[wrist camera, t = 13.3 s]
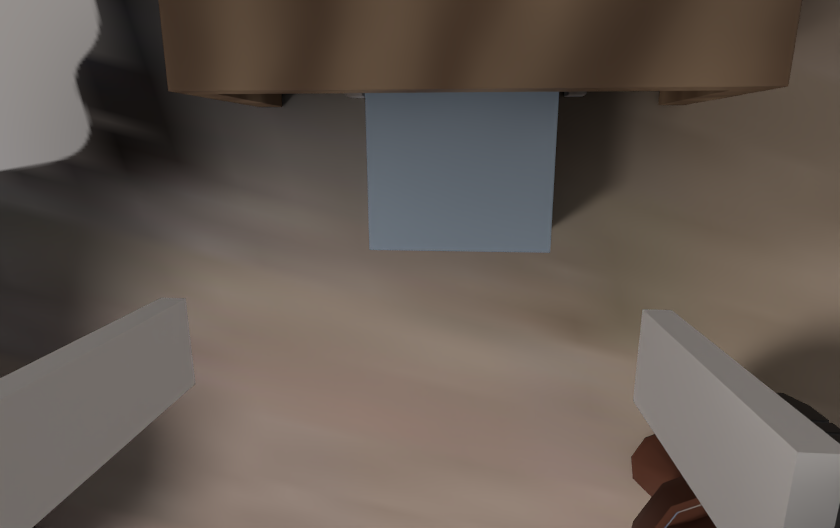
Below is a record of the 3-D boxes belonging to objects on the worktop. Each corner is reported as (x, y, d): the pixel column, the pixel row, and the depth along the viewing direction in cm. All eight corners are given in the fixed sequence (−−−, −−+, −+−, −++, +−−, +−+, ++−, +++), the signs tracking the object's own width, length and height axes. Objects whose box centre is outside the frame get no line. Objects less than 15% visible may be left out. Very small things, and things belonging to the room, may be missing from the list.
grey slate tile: (384, 234, 33) (369, 249, 28) (377, -73, 29) (359, -116, 24) (538, 236, 32) (549, 252, 27) (554, -82, 28) (571, -128, 23)
